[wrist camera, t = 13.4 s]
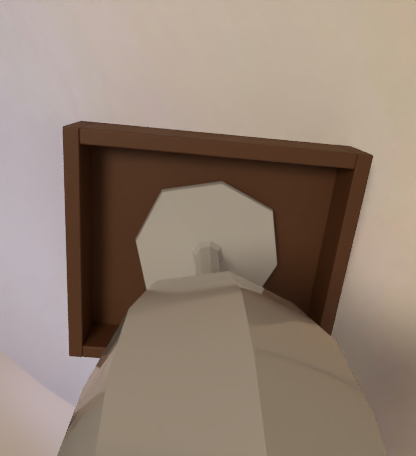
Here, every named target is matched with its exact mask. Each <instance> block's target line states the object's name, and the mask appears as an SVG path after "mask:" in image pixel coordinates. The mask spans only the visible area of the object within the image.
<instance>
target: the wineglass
mask: <svg viewBox="0 0 416 456" xmlns="http://www.w3.org/2000/svg"><path fill="white" fill-rule="evenodd" d="M135 240H136V244H137V249H138V254H139V258H140V263H141V267H142V272H143V276H144V281H145V285H146V291H145V292H144V293H143V294H142V295H141V296H140V297H139V298H138V300H137V301H136V302H135V303H134V304H133V305H132V306H131V307H130V308H129V309H128V311H127V313H126V314H125V316H124V318H123V320H122V321H121V323H120V325H119V327H118V328H117V330H116V332H115V334H114V335H113V337H112V339H111V341H110V342H109V344H108V346H107V348H106V349H105V351H104V353H103V355H102V356H101V358H100V360H99V362H98V363H97V365H96V367H95V369H94V370H93V372H92V374H91V376H90V377H89V379H88V381H87V383H86V384H85V386H84V388H83V390H82V393H81V395H80V398H79V400H78V403H77V406H76V408H75V411H74V413H73V416H72V419H71V421H70V424H69V426H68V429H67V432H66V435H65V437H64V440H63V442H62V445H61V447H60V450H59V453H58V455H57V456H387V453H386V450H385V447H384V444H383V441H382V438H381V435H380V432H379V429H378V426H377V422H376V419H375V416H374V413H373V411H372V409H371V407H370V405H369V403H368V401H367V399H366V397H365V395H364V394H363V392H362V390H361V388H360V386H359V384H358V382H357V380H356V378H355V376H354V375H353V373H352V371H351V369H350V367H349V365H348V363H347V361H346V359H345V358H344V356H343V354H342V352H341V350H340V348H339V346H338V344H337V342H336V341H335V340H334V339H333V338H332V337H331V336H330V335H329V334H328V333H326V332H325V331H324V330H323V329H322V328H321V327H320V326H318V325H317V324H316V323H315V322H314V321H313V320H312V319H311V318H309V317H308V316H307V315H306V314H305V313H304V312H303V311H301V310H300V309H299V308H298V307H297V306H296V305H295V304H294V303H292V302H290V301H288V300H286V299H284V298H282V297H280V296H278V295H276V294H274V293H272V292H270V291H269V290H267V289H265V288H263V287H262V286H263V285H264V283H265V282H266V280H267V279H268V277H269V276H270V275H271V273H272V272H273V270H274V269H275V267H276V266H277V264H278V260H277V249H276V237H275V226H274V215H273V209H272V208H270V207H268V206H266V205H264V204H263V203H261V202H259V201H257V200H255V199H254V198H252V197H250V196H248V195H246V194H245V193H243V192H241V191H239V190H237V189H236V188H234V187H232V186H230V185H228V184H227V183H225V182H223V181H217V182H210V183H203V184H196V185H189V186H182V187H175V188H168V189H162V190H161V192H160V194H159V196H158V198H157V199H156V201H155V203H154V205H153V207H152V209H151V210H150V212H149V214H148V216H147V218H146V220H145V221H144V223H143V225H142V227H141V229H140V231H139V233H138V234H137V236H136V238H135Z"/></svg>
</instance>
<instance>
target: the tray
mask: <svg viewBox="0 0 416 456" xmlns="http://www.w3.org/2000/svg"><path fill="white" fill-rule="evenodd" d="M63 153H64V187H65V221H66V256H67V290H68V324H69V355H70V356H76V357H82V356H83V357H95V358H101V356H102V355H103V353H104V351H105V349H106V348H107V346H108V344H109V342H110V341H111V339H112V337H113V335H114V334H115V332H116V330H117V328H118V327H119V325H120V323H121V321H122V320H123V318H124V316H125V314H126V313H127V311H128V309H129V308H130V307H131V306H132V305H133V304H134V303H135V302H136V301H137V300H138V298H139V297H140V296H141V295H142V294H143V293H144V292H145V291H146V285H145V281H144V276H143V272H142V267H141V263H140V258H139V254H138V249H137V244H136V240H135V238H136V236H137V234H138V233H139V231H140V229H141V227H142V225H143V223H144V221H145V220H146V218H147V216H148V214H149V212H150V210H151V209H152V207H153V205H154V203H155V201H156V199H157V198H158V196H159V194H160V192H161V190H162V189H168V188H175V187H182V186H189V185H196V184H203V183H210V182H217V181H223V182H225V183H227V184H228V185H230V186H232V187H234V188H236V189H237V190H239V191H241V192H243V193H245V194H246V195H248V196H250V197H252V198H254V199H255V200H257V201H259V202H261V203H263V204H264V205H266V206H268V207H270V208H272V209H273V215H274V226H275V237H276V249H277V260H278V264H277V266H276V267H275V269H274V270H273V272H272V273H271V275H270V276H269V277H268V279H267V280H266V282H265V283H264V285H263V286H262V287H263V288H265V289H267V290H269V291H270V292H272V293H274V294H276V295H278V296H280V297H282V298H284V299H286V300H288V301H290V302H292V303H294V304H295V305H296V306H297V307H298V308H299V309H300V310H301V311H303V312H304V313H305V314H306V315H307V316H308V317H309V318H311V319H312V320H313V321H314V322H315V323H316V324H317V325H318V326H320V327H321V328H322V329H323V330H324V331H325V332H326V333H328V334H329V335H330V336H331V333H332V329H333V324H334V320H335V316H336V312H337V307H338V303H339V299H340V295H341V290H342V286H343V282H344V278H345V273H346V269H347V265H348V261H349V256H350V252H351V248H352V244H353V239H354V235H355V231H356V227H357V222H358V218H359V214H360V210H361V205H362V201H363V197H364V193H365V188H366V184H367V180H368V176H369V171H370V167H371V163H372V159H373V155H371V154H368V153H366V152H363V151H361V150H359V149H356V148H353V147H351V146H340V145H330V144H319V143H309V142H298V141H288V140H277V139H266V138H256V137H245V136H235V135H224V134H213V133H203V132H192V131H182V130H171V129H161V128H150V127H139V126H129V125H118V124H108V123H97V122H86V121H80V122H76V123H73V124H70V125H66V126H63Z"/></svg>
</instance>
